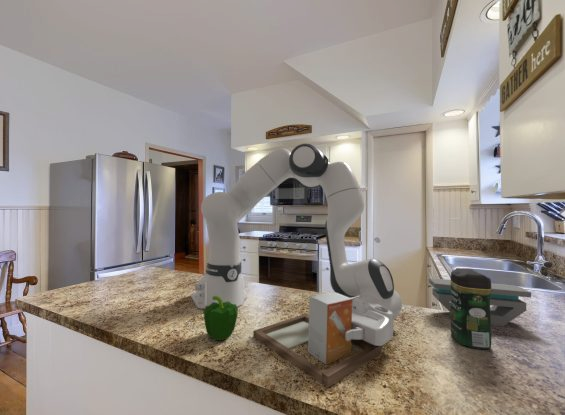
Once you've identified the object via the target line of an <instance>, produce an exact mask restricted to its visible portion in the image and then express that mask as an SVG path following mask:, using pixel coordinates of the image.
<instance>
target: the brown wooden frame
mask: <svg viewBox="0 0 565 415" xmlns="http://www.w3.org/2000/svg"><path fill="white" fill-rule="evenodd" d="M252 333H253V338H255V339H256V340H258V341H260V343H262V344H263V345H264V346H267V347H268V348H269V349H271V350H272V351H274V352H275V353H277V354H278V355H280V357H282V358H284V359H285V360H287V361H288V362H289V363H291V364H293V365H294V366H295V367H297V368H299V369H300V370H301V371H303V372H304V373H306V374H307V375H309V376H310V377H311V378H313V379H315V380H316V381H317V382H319V383H320V384H322V385H323V386H325V387H326V388H330V387H331V386H333V385H334V384H337V382H340V381H341V380H342V379H344V378H345V377H347V376H349V375H350V374H352V373H353V372H355V371H356V370H358V369H360V368H361V367H364V365H366V364H368V363H369V362H371V361H373V360H374V359H376V358H377V357H379V356H381V355H382V346H376V345H373V344H370V343H368V342H366V341H364V340H362V339H361V340H358V339H351V345H353V346H356V347H357V348H360V349H361V350H360V351H358V352H356V353H355V354H353V355H350V357H347V358H346V359H344V360H342V361H341V362H339V363H337V364H335V365H333V366H332V367H330V368H328V369H326V370H324V369H323V368H321V367H319V366H317V365H316V364H314V363H313V362H311V361H310V360H308V359H306V358H305V357H303V356H301V355H300V354H298V353H297V352H295V351H294V350H292V349H294V348H296V347H298V346H301V345H303V344H305V343H308V333H309V314H306V313H304V314H301V315H299V316H295V317H292V318H289V319H285V320H282V321H280V322H276V323H274V324H273V323H272V324H270V325H267V326H265V327H261V328H258V329H255V330H253V332H252Z"/></svg>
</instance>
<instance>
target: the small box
mask: <svg viewBox="0 0 565 415" xmlns="http://www.w3.org/2000/svg"><path fill="white" fill-rule="evenodd" d="M308 298H309V299H308V302H309V304H308V315H309V333H308V342H307V352H308V353H309V354H310V355H312V357H314V358H316V359H317V360H318V361H320V362H321V363H323V364H324V365H328V364H331V363H333V362H336V361H338V360H341V359H343V358H345V357H348V356H352V355H351V354H352V344H351V340H349V341H347V340H345V339H343V338H342V331H343V330H345V329H349V330H352V299H353V297H352V298H349V297H346V296H344V295H341V294H339V293H336V292H334V291H332V292H327V293H324V292H323V293H319V294H316V295H312V296H309V297H308Z"/></svg>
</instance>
